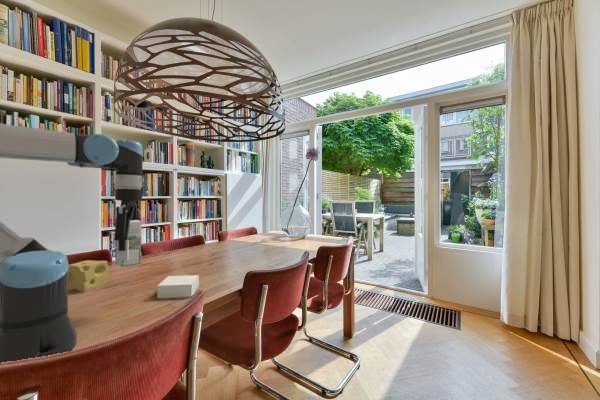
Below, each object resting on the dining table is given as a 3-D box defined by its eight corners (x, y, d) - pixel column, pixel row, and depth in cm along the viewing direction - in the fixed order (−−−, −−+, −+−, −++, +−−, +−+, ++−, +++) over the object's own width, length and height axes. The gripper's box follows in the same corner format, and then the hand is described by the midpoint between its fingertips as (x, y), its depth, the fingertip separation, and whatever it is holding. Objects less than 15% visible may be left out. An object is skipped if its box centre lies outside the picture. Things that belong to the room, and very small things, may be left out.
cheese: (84, 292, 104) (84, 266, 104) (62, 290, 106) (62, 265, 106) (108, 284, 114) (108, 260, 114) (87, 282, 116) (87, 259, 116)
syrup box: (134, 261, 93) (134, 219, 93) (141, 264, 89) (141, 220, 89) (115, 264, 88) (115, 220, 88) (121, 267, 85) (121, 221, 85)
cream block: (191, 297, 101) (191, 284, 101) (157, 299, 99) (157, 285, 99) (198, 287, 113) (198, 275, 113) (168, 288, 111) (168, 276, 111)
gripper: (130, 187, 80) (129, 264, 80) (150, 189, 99) (150, 251, 100) (101, 187, 78) (100, 266, 78) (128, 189, 98) (127, 251, 98)
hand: (128, 257), depth 89 cm, fingers closed on syrup box, 8 cm apart
